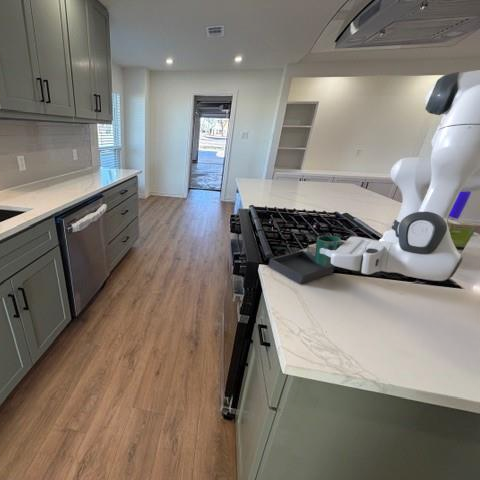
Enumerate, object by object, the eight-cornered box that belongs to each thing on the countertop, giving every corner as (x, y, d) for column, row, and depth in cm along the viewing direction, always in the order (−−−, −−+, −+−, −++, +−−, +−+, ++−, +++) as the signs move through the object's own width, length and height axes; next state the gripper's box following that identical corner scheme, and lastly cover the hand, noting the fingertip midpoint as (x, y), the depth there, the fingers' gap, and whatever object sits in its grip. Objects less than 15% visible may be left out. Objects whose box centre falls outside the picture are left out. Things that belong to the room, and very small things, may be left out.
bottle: (441, 230, 136) (470, 173, 124) (454, 236, 129) (486, 176, 117) (423, 228, 138) (450, 172, 126) (434, 234, 130) (464, 175, 118)
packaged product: (327, 236, 110) (351, 244, 102) (323, 246, 112) (347, 255, 104) (301, 243, 102) (325, 253, 94) (298, 253, 104) (322, 264, 96)
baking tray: (300, 256, 101) (302, 250, 100) (333, 272, 91) (335, 265, 90) (268, 265, 94) (269, 258, 92) (300, 284, 83) (302, 276, 82)
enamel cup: (323, 256, 92) (325, 234, 89) (342, 262, 86) (345, 238, 83) (310, 261, 89) (312, 238, 86) (329, 267, 83) (332, 243, 81)
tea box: (404, 241, 119) (419, 211, 113) (427, 243, 118) (443, 213, 112) (434, 256, 105) (452, 222, 99) (459, 258, 104) (479, 225, 99)
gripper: (386, 235, 81) (336, 229, 92) (369, 256, 69) (314, 247, 79) (383, 253, 83) (334, 245, 93) (366, 277, 71) (312, 265, 81)
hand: (324, 246), depth 86 cm, fingers closed on enamel cup, 7 cm apart
